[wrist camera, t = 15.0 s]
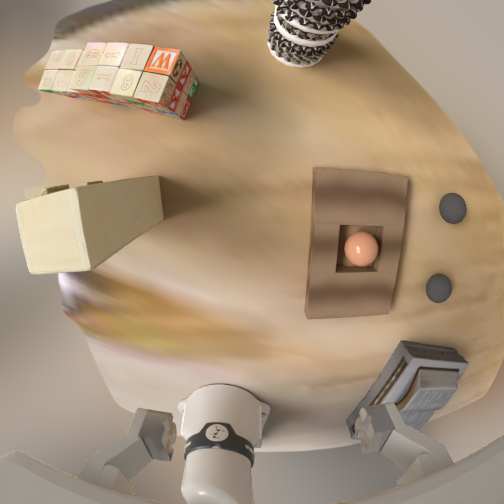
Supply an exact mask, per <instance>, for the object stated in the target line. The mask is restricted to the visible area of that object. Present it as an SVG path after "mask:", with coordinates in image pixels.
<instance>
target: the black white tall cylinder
mask: <svg viewBox="0 0 504 504" xmlns="http://www.w3.org/2000/svg"><path fill="white" fill-rule="evenodd" d="M370 2H371V0H273V3H274V5H275V12H273V13H272V14H271V17H272V19H271V20H270V25H269V31H268V47H269V49H270V52H271V54H272V55H273V56H274V57H275V58H276V59H277V60H278V61H279V62H282V63H284V64H286V65H288V66H290V67H297V68H304V67H310V66H313V65H314V64H316V63H318V62H319V61H320V60H321V59H322V58H323V57H324V56H325V54H327V52H328V51H327V50H328V49H330V48H331V45H333V44H334V41H335V38H337V37H338V33H337V32H338V31H339V30H341V29H343V28H345V26H346V25H348V24H349V23H350V18H351V19H355V18H356V17H357V12H359V11H361V10H362V9H363V6H364V4H369V3H370Z"/></svg>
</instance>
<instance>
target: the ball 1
mask: <svg viewBox="0 0 504 504" xmlns="http://www.w3.org/2000/svg"><path fill="white" fill-rule="evenodd" d="M451 291H452V285H451V282H450V280H449V279H448V277H446V276H445V275H442V274H437V275H434V276H432V277H431V278H430V279H429V281H428V282H427V285H426V293H427V296H428V298H429V299H430V300H431V301H433V302H435V303H441V302H444V301H446V300H447V299H448V298H449V296H450V294H451Z"/></svg>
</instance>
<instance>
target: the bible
mask: <svg viewBox="0 0 504 504" xmlns="http://www.w3.org/2000/svg"><path fill="white" fill-rule="evenodd" d="M467 366H468V362H467V361H465V359H464V358H463V357H462V356H461V355H459V354H458V352H457V351H456V350H455V349H453V348H448V347H441V346H433V345H427V344H420V343H415V342H408V341H400V343H399V345H398V346H397V348H396V350H395V351H394V353H393V354H392V356H391V358H390V360H389V361H388V363H387V364H386V366H385V367H384V369H383V370H382V372H381V373H380V374H381V376H380V377H379V378H378V379H377V380H376V381H375V382H374V384H373V385H372V387H371V389H370V391H368V393H367V397H366V398H365V399H364V400H362V401H361V403H359V405H358V406H357V407H356V409H355V410H354V411H353V413H352V414H351V415H350V416H349V418H348V419H347V420H346V421H347V424H348V426H349V430H350V433H351V438H352V439H359V438H357V436H356V433H355V422H356V419H357V418H358V417H360V414H359V412H360V410H361V408H363V407H368V406H373V405H378V404H384V403H388V402H393V403H394V404H395V406H396V407H397V409H398V411H399V413H400V415H401V417H402V419H403V421H404V423H405V425H406V426H408V425H409V426H411V427H413V428H414V429H416V430H419V429H420V428H421V427H422V426H423V425H424V424H425V423H426V422H427V421H428V420H429V419H430V418H431V416H432V415H433V413H434V411H435V410H438V409H441V408H442V407H443V406H445V405H446V403H447V402H448V401H449V400H450V398H451V397H452V395H453V394H454V393H455V391H456V390H457V381H458V380H459V378H460V377H461V375H462V374H463V372H464V371H465V369H466V367H467Z"/></svg>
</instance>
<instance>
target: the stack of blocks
mask: <svg viewBox="0 0 504 504" xmlns="http://www.w3.org/2000/svg"><path fill="white" fill-rule="evenodd" d="M198 84H199V81H198V79H197V77H196V76H195V74H194V72H193V71H192V69H191V66H190V65H189V63H188V61H187V60H186V59H185V57H184V55H183V53H182V51H181V50H178V49H171V48H164V47H154V46H153V45H143V44H129V43H113V42H110V43H88V44H87V46H86V48H85V50H84V49H68V50H54V51H53V52H52V54H51V56H50V59H49V61H48V63H47V66H46V68H45V72H44V74H43V77H42V79H41V82H40V85H39V88H38V90H41V91H45V92H50V93H56V94H60V95H65V96H68V97H72V98H81V99H85V100H91V101H98V102H103V103H109V104H117V105H123V106H127V107H133V108H138V109H142V110H146V111H149V112H153V113H158V114H162V115H166V116H169V117H173V118H176V119H180V120H185V118H186V115H187V112H188V110H189V107H190V104H191V102H192V98H193V96H194V94H195V91H196V89H197V86H198Z"/></svg>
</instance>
